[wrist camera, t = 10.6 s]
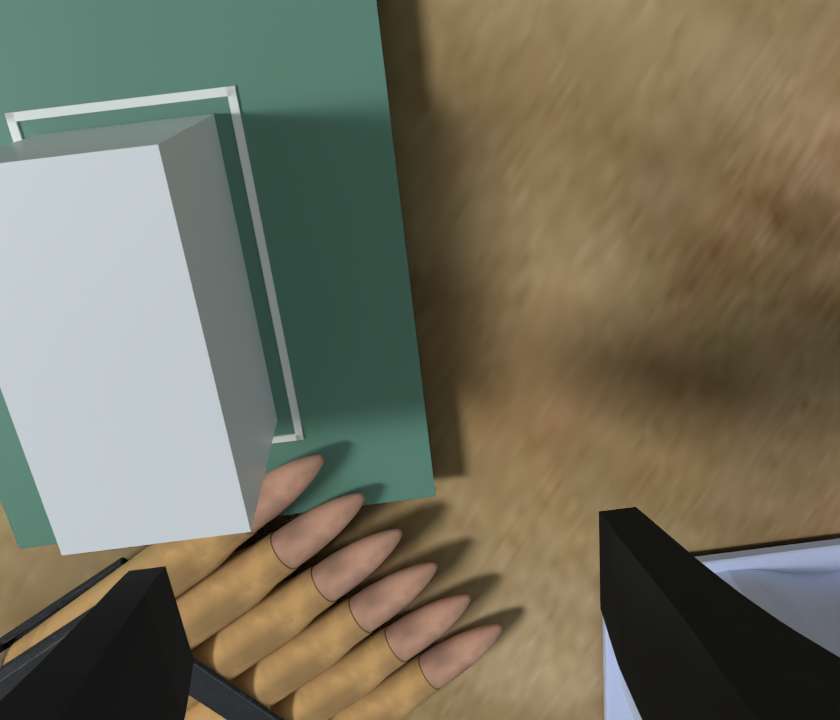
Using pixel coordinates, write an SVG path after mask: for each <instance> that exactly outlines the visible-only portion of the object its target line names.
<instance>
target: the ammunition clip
mask: <svg viewBox="0 0 840 720" xmlns="http://www.w3.org/2000/svg"><path fill="white" fill-rule="evenodd" d="M324 460H325V458H324V456H323V455H322V454H315V455H310V456H306V457H302V458H299V459H296V460H294V461H291V462H289V463H286V464H284V465H282V466H280V467H278V468H276V469H273V470H272V471H270V472H268V473H266V474H265V475H264V479H263V483H262V487H261V491H260V496H259V500H258V504H257V508H256V512H255V517H254V521H253V525H252V529H251V532H246V533H238V534H230V535H222V536H214V537H206V538H198V539H190V540H182V541H174V542H165V543H157V544H151V545H150V546H148V547H147V548H146V549H144V550H143V551H141V552H140V553H139V554H137V555H136V556H134V557H133V558H132V559H130V560H129V561H128V560H127V559H126V558H120V559H119V560H117V561H116V562H114V563H113V564H111V565H110V566H108V567H107V568H105V569H104V570H102V571H101V572H99V573H98V574H96V575H95V576H93V577H92V578H90V579H89V580H87V581H86V582H84V583H82V584H81V585H79V586H78V587H76V588H75V589H73V590H72V591H70V592H69V593H67V594H66V595H64V596H63V597H61V598H60V599H58V600H57V601H55V602H54V603H52V604H51V605H49V606H48V607H46V608H45V609H43V610H42V611H40V612H39V613H37V614H36V615H34V616H33V617H31V618H30V619H28V620H27V621H25V622H24V623H22V624H21V625H19V626H18V627H16V628H15V629H13V630H11V631H10V632H8V633H7V634H5V635H4V636H2V637H1V638H0V701H1V700H2V699H3V698H4V697H5V696H6V695H7V694H8V693H9V692H10V691H11V690H12V689H13V688H14V687H15V686H16V685H17V684H18V683H19V682H21V681H22V680H23V679H24V678H25V677H26V676H27V675H28V674H29V673H30V672H31V671H32V670H33V669H34V668H35V667H36V666H37V665H38V664H39V663H40V662H41V661H42V660H43V659H44V658H45V657H46V656H47V655H48V654H49V653H50V652H51V651H52V650H53V649H54V648H55V647H56V646H57V645H58V644H59V643H60V642H61V641H62V640H63V639H64V638H65V636H66V635H67V634H68V633H69V632H70V631H71V630H72V629H73V628H74V627H75V626H76V625H77V624H78V623H79V622H80V621H81V620H82V619H83V618H84V617H85V616H86V615H87V613H88V612H89V611H90V610H91V609H92V608H93V607H94V606H95V605H96V604H97V603H98V602H99V601H100V600H101V599H102V598H103V596H104V595H105V594H106V593H107V592H108V591H109V590H110V589H111V588H112V587H113V586H114V585H115V584H116V583H117V582H118V581H119V580H120V579H121V578H122V577H123V576H124V575H125V574H126V573H127V572H128V571H131V570H139V569H147V568H155V567H163V566H166V570H167V573H168V576H169V580H170V583H171V586H172V589H173V593H174V596H175V599H176V603H177V606H178V609H179V612H180V616H181V619H182V622H183V626H184V629H185V632H186V636H187V639H188V642H189V645H190V649H191V652H192V655H193V659H194V663H193V670H192V677H191V684H190V691H189V697H188V703H187V709H186V714H185V720H402V719H404V718H405V717H407V716H408V715H409V714H410V713H411V712H412V711H413V710H414V709H415V708H416V707H417V706H418V705H419V704H420V703H421V702H422V701H424V700H425V699H426V698H428V697H429V696H431V695H432V694H434V693H435V692H437V691H438V690H439V689H440V688H441V687H442V686H444V685H445V684H447V683H448V682H450V681H451V680H453V679H454V678H456V677H457V676H459V675H460V674H462V673H463V672H464V671H465V670H467V669H468V668H469V667H470V666H472V665H473V664H474V663H475V662H476V661H477V660H478V659H480V658H481V657H482V656H483V655H484V654H485V653H486V651H487V650H488V649H489V648H490V647H491V646H492V645H493V644H494V642H495V641H496V640H497V638H498V637H499V635H500V633H501V631H502V626H501V624H488V625H483V626H479V627H476V628H473V629H470V630H467V631H464V632H462V633H459V634H457V635H455V636H453V637H451V638H449V639H446V640H444V641H442V642H440V643H439V644H437V645H435V646H434V647H432V648H430V649H429V650H427V651H425V652H424V653H421V654H419V655H417V656H415V655H416V654H418V653H419V652H421V651H422V650H424V649H425V648H427V647H428V646H429V645H431V644H432V643H433V642H434V641H435V640H437V639H438V638H439V637H440V636H442V635H443V634H444V633H445V632H446V631H447V630H448V629H449V628H450V627H451V626H452V625H453V624H454V623H455V622H456V621H457V620H458V618H459V617H460V616H461V615H462V614H463V612H464V611H465V610H466V608H467V607H468V605H469V603H470V601H471V596H470V595H469V594H459V595H454V596H449V597H446V598H443V599H440V600H437V601H434V602H432V603H429V604H427V605H424V606H422V607H420V608H418V609H416V610H414V611H412V612H410V613H408V614H407V615H405V616H403V617H402V618H400V619H398V620H397V621H395V622H394V623H392V624H390V625H389V626H385V627H384V628H382V629H380V630H379V631H377V632H375V633H373V634H372V635H370V634H371V633H372V632H373V630H375V629H376V628H378V627H379V626H381V625H382V624H384V623H385V622H387V621H388V620H390V619H391V618H392V617H394V616H395V615H396V614H397V613H399V612H400V611H401V610H402V609H403V608H404V607H406V606H407V605H408V604H409V603H410V602H411V601H412V600H413V599H414V598H415V597H416V596H417V595H418V594H419V593H420V592H421V591H422V590H423V589H424V588H425V586H426V585H427V584H428V583H429V581H430V580H431V579H432V577H433V576H434V574H435V572H436V570H437V568H438V565H437V564H436V563H435V562H427V563H421V564H417V565H413V566H410V567H407V568H404V569H402V570H399V571H397V572H394V573H392V574H390V575H388V576H386V577H384V578H382V579H380V580H378V581H376V582H374V583H372V584H371V585H369V586H367V587H366V588H364V589H363V590H361V591H360V592H358V593H357V594H355V595H353V596H350V597H348V598H347V599H345V600H343V601H342V602H340V603H338V604H337V605H335V606H333V607H332V608H330V609H327V608H328V607H330V606H331V605H332V604H334V603H335V602H336V601H337V599H339V598H340V597H342V596H343V595H345V594H346V593H347V592H349V591H350V590H352V589H353V588H355V587H356V586H357V585H358V584H360V583H361V582H362V581H363V580H364V579H365V578H367V577H368V576H369V575H370V574H371V573H372V572H373V571H375V570H376V569H377V568H378V567H379V566H380V565H381V564H382V563H383V561H384V560H385V559H386V558H387V557H388V556H389V555H390V553H391V552H392V551H393V550H394V548H395V547H396V546H397V544H398V542H399V541H400V539H401V537H402V535H403V532H402V530H401V529H389V530H384V531H380V532H377V533H375V534H372V535H369V536H366V537H364V538H361V539H359V540H357V541H355V542H353V543H351V544H349V545H347V546H345V547H343V548H341V549H339V550H338V551H336V552H334V553H333V554H331V555H329V556H328V557H326V558H325V559H323V560H322V561H320V562H319V563H317V564H316V565H312V566H311V567H309V568H308V569H306V570H304V571H303V572H301V573H299V574H298V575H296V576H295V577H293V578H290V579H288V580H285V581H283V582H281V583H279V582H280V581H282V580H283V579H284V578H286V577H287V576H288V575H290V574H291V573H292V572H293V571H295V570H296V569H297V568H298V567H299V566H300V565H301V564H303V563H304V562H305V561H307V560H308V559H310V558H311V557H312V556H314V555H315V554H316V553H318V552H319V551H320V550H321V549H322V548H324V547H325V546H326V545H327V544H328V543H329V542H330V541H332V540H333V539H334V538H335V537H336V536H337V535H338V534H339V533H340V532H341V531H342V530H343V529H344V528H345V527H346V526H347V524H348V523H349V522H350V521H351V520H352V519H353V517H354V516H355V515H356V514H357V512H358V511H359V509H360V508H361V506H362V504H363V502H364V500H365V495H364V494H363V493H353V494H348V495H344V496H341V497H338V498H335V499H332V500H330V501H327V502H325V503H323V504H320V505H318V506H316V507H314V508H312V509H310V510H309V511H307V512H305V513H303V514H301V515H300V516H298V517H296V518H295V519H293V520H292V521H290V522H289V523H287V524H286V525H284V526H283V527H281V528H280V529H278V530H277V531H273V532H272V533H270V534H269V535H267V536H266V537H264V538H262V539H261V540H259V541H258V542H256V543H255V544H253V545H251V546H248V547H246V548H243V549H241V550H239V551H237V552H234V553H232V552H233V551H234V550H235V549H236V548H237V547H238V546H240V545H241V544H242V543H244V542H245V541H246V540H247V539H249V538H250V537H251V536H252V535H254V534H255V533H256V532H257V530H259V529H260V528H261V527H263V526H264V525H265V524H267V523H268V522H269V521H271V520H272V519H273V518H275V517H276V516H277V515H279V514H280V513H281V512H282V511H283V510H284V509H285V508H287V507H288V506H289V505H290V504H291V503H292V502H293V501H294V500H295V499H296V498H297V497H298V496H299V495H300V494H301V493H302V492H303V491H304V490H305V489H306V488H307V486H308V485H309V484H310V483H311V482H312V480H313V479H314V478H315V477H316V475H317V474H318V472H319V471H320V469H321V467H322V465H323V463H324ZM326 609H327V610H326ZM368 635H370V636H368ZM367 636H368V637H367ZM365 637H366V638H365ZM413 656H415V657H413ZM412 657H413V658H412ZM410 658H412V659H410ZM409 659H410V660H409Z"/></svg>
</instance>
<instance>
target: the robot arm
mask: <svg viewBox="0 0 840 720" xmlns="http://www.w3.org/2000/svg"><path fill="white" fill-rule="evenodd" d="M599 540H600V602H601V611H602V615H603V668H604V720H840V538H839V539H831V540H823V541H815V542H807V543H799V544H791V545H783V546H775V547H767V548H760V549H752V550H744V551H736V552H728V553H720V554H712V555H704V556H696V557H694V556H693V555H692V554H690V553H689V552H688V551H687V550H686V549H684V548H683V547H682V546H681V545H680V544H679V543H677V542H676V541H675V540H674V539H673V538H671V537H670V536H669V535H668V534H667V533H666V532H664V531H663V530H662V529H661V528H660V527H659V526H658V525H656V524H655V523H654V522H653V521H652V520H651V519H649V518H648V517H647V516H646V515H645V514H643V513H642V512H641V511H640V510H639V509H637V508H636V507H632V508H624V509H616V510H608V511H600V512H599ZM193 663H194V659H193V655H192V652H191V649H190V645H189V642H188V639H187V636H186V632H185V629H184V626H183V622H182V619H181V616H180V612H179V609H178V606H177V603H176V599H175V596H174V593H173V589H172V586H171V583H170V580H169V576H168V573H167V570H166V566H163V567H155V568H147V569H139V570H131V571H128V572H127V573H126V574H125V575H124V576H123V577H122V578H121V579H120V580H119V581H118V582H117V583H116V584H115V585H114V586H113V587H112V588H111V589H110V590H109V591H108V592H107V593H106V594H105V595H104V596H103V598H102V599H101V600H100V601H99V602H98V603H97V604H96V605H95V606H94V607H93V608H92V609H91V610H90V611H89V612H88V613H87V615H86V616H85V617H84V618H83V619H82V620H81V621H80V622H79V623H78V624H77V625H76V626H75V627H74V628H73V629H72V630H71V631H70V632H69V633H68V634H67V635H66V636H65V638H64V639H63V640H62V641H61V642H60V643H59V644H58V645H57V646H56V647H55V648H54V649H53V650H52V651H51V652H50V653H49V654H48V655H47V656H46V657H45V658H44V659H43V660H42V661H41V662H40V663H39V664H38V665H37V666H36V667H35V668H34V669H33V670H32V671H31V672H30V673H29V674H28V675H27V676H26V677H25V678H24V679H23V680H22V681H21V682H19V683H18V684H17V685H16V686H15V687H14V688H13V689H12V690H11V691H10V692H9V693H8V694H7V695H6V696H5V697H4V698H3V699H2V700H1V701H0V720H185V714H186V709H187V703H188V697H189V691H190V684H191V677H192V670H193Z"/></svg>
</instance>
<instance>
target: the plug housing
mask: <svg viewBox="0 0 840 720" xmlns="http://www.w3.org/2000/svg"><path fill="white" fill-rule="evenodd" d="M0 388H1V391H2V394H3V397H4V399H5V402H6V405H7V407H8V410H9V413H10V416H11V418H12V421H13V424H14V427H15V429H16V432H17V435H18V437H19V440H20V443H21V446H22V448H23V451H24V454H25V456H26V459H27V462H28V465H29V467H30V470H31V473H32V476H33V478H34V481H35V484H36V486H37V489H38V492H39V495H40V497H41V500H42V503H43V505H44V508H45V511H46V514H47V516H48V519H49V522H50V524H51V527H52V530H53V533H54V535H55V538H56V541H57V544H58V546H59V549H60V552H61V554H62V555H69V554H77V553H85V552H93V551H101V550H109V549H117V548H125V547H133V546H141V545H149V544H157V543H165V542H174V541H182V540H190V539H198V538H206V537H214V536H222V535H230V534H238V533H246V532H251V529H252V525H253V521H254V517H255V512H256V508H257V504H258V500H259V496H260V491H261V487H262V483H263V479H264V475H265V470H266V466H267V462H268V458H269V454H270V449H271V445H272V441H273V437H274V433H275V428H276V424H277V416H276V411H275V406H274V401H273V396H272V392H271V387H270V382H269V377H268V372H267V367H266V363H265V358H264V353H263V348H262V343H261V339H260V334H259V329H258V324H257V319H256V314H255V310H254V305H253V300H252V295H251V290H250V286H249V281H248V276H247V271H246V266H245V261H244V257H243V252H242V247H241V242H240V237H239V233H238V228H237V223H236V218H235V213H234V209H233V204H232V199H231V194H230V189H229V184H228V180H227V175H226V170H225V165H224V160H223V156H222V151H221V146H220V141H219V136H218V131H217V127H216V122H215V117H214V114H206V115H197V116H189V117H180V118H172V119H163V120H155V121H146V122H138V123H129V124H121V125H113V126H104V127H96V128H87V129H79V130H70V131H62V132H53V133H45V134H38V135H35V136H32V137H29V138H26V139H23V140H20V141H17V142H14V143H10V144H7V145H4V146H1V147H0Z"/></svg>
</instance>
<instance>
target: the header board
mask: <svg viewBox="0 0 840 720" xmlns="http://www.w3.org/2000/svg"><path fill="white" fill-rule="evenodd" d="M206 114H214V117H215V122H216V127H217V131H218V136H219V141H220V146H221V151H222V156H223V160H224V165H225V170H226V175H227V180H228V184H229V189H230V194H231V199H232V204H233V209H234V213H235V218H236V223H237V228H238V233H239V237H240V242H241V247H242V252H243V257H244V261H245V266H246V271H247V276H248V281H249V286H250V290H251V295H252V300H253V305H254V310H255V314H256V319H257V324H258V329H259V334H260V339H261V343H262V348H263V353H264V358H265V363H266V367H267V372H268V377H269V382H270V387H271V392H272V396H273V401H274V406H275V411H276V416H277V424H276V428H275V433H274V437H273V441H272V445H271V449H270V454H269V458H268V462H267V466H266V470H265V474H266V473H268V472H270V471H272V470H273V469H276V468H278V467H280V466H282V465H284V464H286V463H289V462H291V461H294V460H296V459H299V458H302V457H306V456H310V455H315V454H322V455H323V456H324V458H325V460H324V463H323V465H322V467H321V469H320V471H319V472H318V474H317V475H316V477H315V478H314V479H313V480H312V482H311V483H310V484H309V485H308V486H307V488H306V489H305V490H304V491H303V492H302V493H301V494H300V495H299V496H298V497H297V498H296V499H295V500H294V501H293V502H292V503H291V504H290V505H289V506H288V507H287V508H285V509H284V510H283V511H282V512H281V513H280V514H279V515H277V516H282V515H290V514H298V513H305V512H307V511H309V510H310V509H312V508H314V507H316V506H318V505H320V504H323V503H325V502H327V501H330V500H332V499H335V498H338V497H341V496H344V495H348V494H353V493H363V494H364V495H365V500H364V502H363V504H362V505H370V504H378V503H386V502H394V501H402V500H409V499H417V498H425V497H433V496H436V495H435V487H434V479H433V470H432V462H431V454H430V445H429V437H428V428H427V420H426V412H425V403H424V395H423V387H422V378H421V370H420V362H419V353H418V345H417V336H416V328H415V320H414V311H413V303H412V295H411V286H410V278H409V269H408V261H407V253H406V244H405V236H404V228H403V219H402V211H401V203H400V194H399V186H398V177H397V169H396V161H395V152H394V144H393V136H392V127H391V119H390V110H389V102H388V94H387V85H386V77H385V69H384V60H383V52H382V43H381V35H380V27H379V18H378V10H377V2H376V0H0V147H1V146H4V145H7V144H10V143H14V142H17V141H20V140H23V139H26V138H29V137H32V136H35V135H38V134H45V133H53V132H62V131H70V130H79V129H87V128H96V127H104V126H113V125H121V124H129V123H138V122H146V121H155V120H163V119H172V118H180V117H189V116H197V115H206ZM0 500H1V503H2V505H3V508H4V510H5V513H6V515H7V518H8V520H9V523H10V525H11V528H12V530H13V533H14V535H15V538H16V541H17V543H18V546H19V548H27V547H35V546H43V545H51V544H57V541H56V538H55V535H54V533H53V530H52V527H51V524H50V522H49V519H48V516H47V514H46V511H45V508H44V505H43V503H42V500H41V497H40V495H39V492H38V489H37V486H36V484H35V481H34V478H33V476H32V473H31V470H30V467H29V465H28V462H27V459H26V456H25V454H24V451H23V448H22V446H21V443H20V440H19V437H18V435H17V432H16V429H15V427H14V424H13V421H12V418H11V416H10V413H9V410H8V407H7V405H6V402H5V399H4V397H3V394H2V391H1V388H0Z"/></svg>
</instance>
